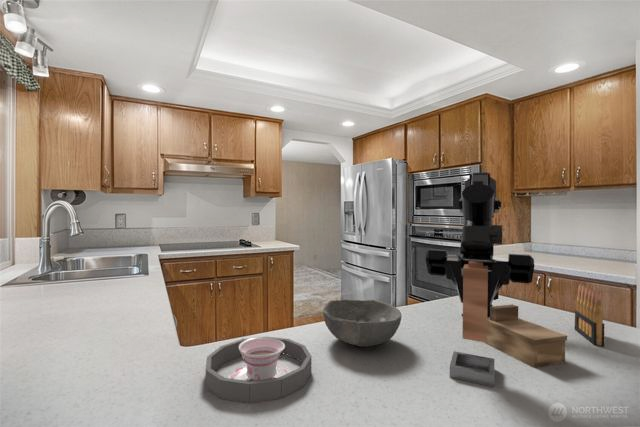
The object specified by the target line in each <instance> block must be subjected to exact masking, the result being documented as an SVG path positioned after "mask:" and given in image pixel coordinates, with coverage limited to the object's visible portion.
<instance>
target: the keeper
mask: <svg viewBox="0 0 640 427" xmlns="http://www.w3.org/2000/svg"><path fill="white" fill-rule="evenodd" d="M460 365H463V366H460ZM466 366H468V367H466ZM471 367H474V368H471ZM475 368H478V369H475ZM495 368H496V367H495V358H492V357H487V356H481V355H475V354H470V353H465V352H460V351H455V350H454V351H453V353H452V357H451V360H450V364H449V378H453V379H456V380H461V381H465V382H468V383H469V382H470V383H475V384H479V385H483V386H488V387H493V388H495V385H496V384H495V378H496V377H495V376H496V375H495V374H496V373H495ZM480 369H481V370H480ZM485 370H487V371H485Z"/></svg>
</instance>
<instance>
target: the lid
mask: <svg viewBox="0 0 640 427" xmlns="http://www.w3.org/2000/svg"><path fill="white" fill-rule="evenodd" d="M487 325H489V326H491V327H493V328H496V329H498V330H500V331H502V332H505V333H507V334H509V335H512V336H514V337H516V338H518V339H521V340H523V341H525V342H528V343H530V344H532V345H541V344H548V343H555V342H561V341H565V342H567V341H568V335H566V334H564V333H561V332H558V331H556V330H553V329H551V328H547V327H544V326H541V325H539V324H536V323H534V322H531V321H528V320H525V319H523V318H519V306H518V305H516V304H513V303H512V304H502V305H493V306H491V307H490V317H488V318H487Z"/></svg>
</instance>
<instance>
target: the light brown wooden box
mask: <svg viewBox="0 0 640 427" xmlns="http://www.w3.org/2000/svg"><path fill="white" fill-rule="evenodd" d="M483 343H485V342H483ZM485 344H486V345H488V346H490V347H493V348H495V349H497V350H499V351H500V352H503V353H504V354H506V355H508V356H511V357H513V358H514V359H517V360H518V361H520V362H522V363H524V364H526V365H528V366H529V367H531V368H534V369H535V368H540V367H544V366H545V367H546V366H551V365H558V364H563V363H566V341H561V342H555V343H548V344H541V345H532V344H530V343H528V342H525V341H523V340H521V339H518V338H516V337H514V336H512V335H509V334H507V333H505V332H502V331H500V330H498V329H496V328H493V327H491V326H489V325H487V343H485Z"/></svg>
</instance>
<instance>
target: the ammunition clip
mask: <svg viewBox="0 0 640 427" xmlns="http://www.w3.org/2000/svg"><path fill="white" fill-rule="evenodd" d="M603 312H604V311H603V305H602V296H601V293H600V291H598V292H597V290H593V289H592V288H589V286H587V287H586V285H583V284H582V283H579V285H578V289H577V298H576V310H574V330H575V331H576V332H577V333H578V334H579V335H581V336H582V338H584V339H586V340H587V341H588V342H589V343H591V344H592V345H593V346H597V347H605V323H604V321H603V320H604V319H603V318H604V316H603V315H604V314H603Z"/></svg>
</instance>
